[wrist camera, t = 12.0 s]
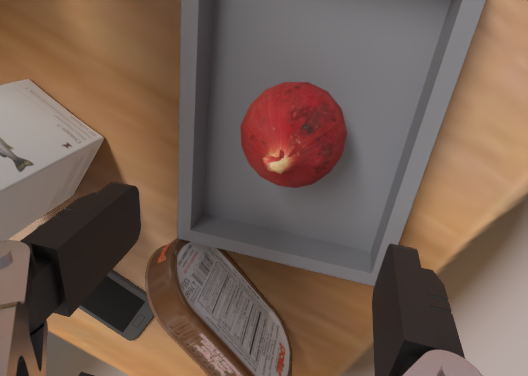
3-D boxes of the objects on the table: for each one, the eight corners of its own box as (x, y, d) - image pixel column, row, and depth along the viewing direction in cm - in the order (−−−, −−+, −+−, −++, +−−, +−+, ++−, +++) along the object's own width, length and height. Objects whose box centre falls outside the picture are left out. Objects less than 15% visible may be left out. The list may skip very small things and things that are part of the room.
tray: (207, -80, 22) (182, -93, 18) (483, -48, 19) (506, -57, 16) (195, 214, 31) (177, 238, 28) (380, 257, 29) (382, 288, 26)
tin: (173, 227, 32) (118, 294, 25) (199, 210, 31) (149, 276, 23) (277, 345, 36) (257, 435, 28) (305, 334, 34) (290, 426, 27)
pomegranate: (307, 49, 22) (283, 73, 16) (367, 122, 24) (370, 174, 17) (241, 111, 25) (195, 155, 18) (297, 174, 26) (274, 238, 19)
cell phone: (136, 338, 40) (132, 343, 40) (24, 264, 39) (18, 269, 39) (165, 301, 37) (161, 306, 36) (43, 219, 36) (37, 223, 35)
